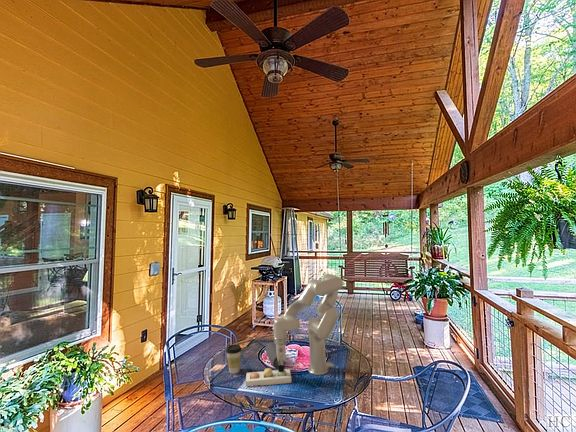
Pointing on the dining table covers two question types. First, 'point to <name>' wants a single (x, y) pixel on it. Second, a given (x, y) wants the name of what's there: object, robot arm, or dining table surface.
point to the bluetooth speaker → (272, 355)
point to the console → (268, 378)
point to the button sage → (282, 373)
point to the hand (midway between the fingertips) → (281, 371)
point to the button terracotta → (254, 375)
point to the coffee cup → (234, 358)
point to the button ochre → (268, 372)
